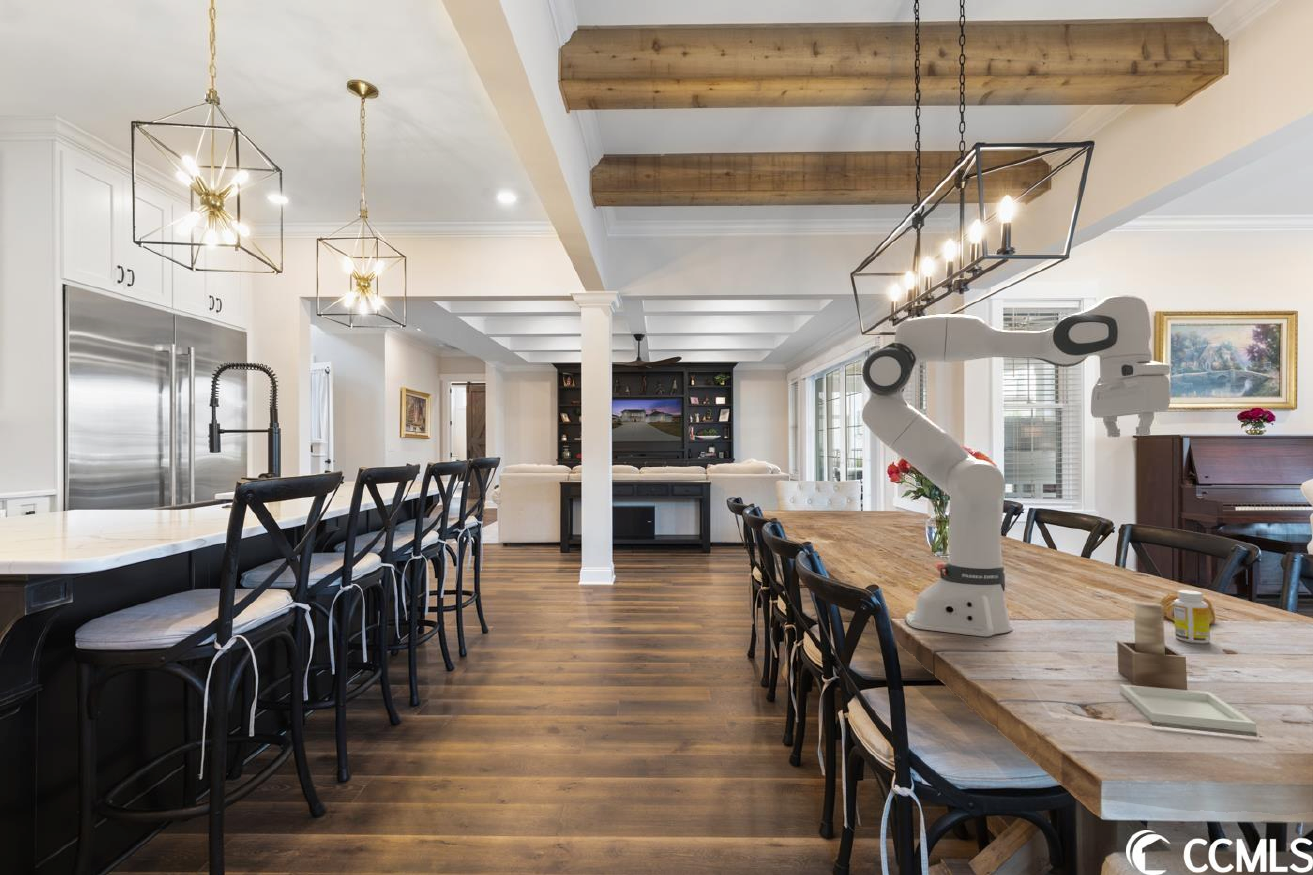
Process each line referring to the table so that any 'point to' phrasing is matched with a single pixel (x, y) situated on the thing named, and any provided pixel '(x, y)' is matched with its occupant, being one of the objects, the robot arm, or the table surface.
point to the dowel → (1149, 628)
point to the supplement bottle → (1191, 617)
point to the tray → (1188, 709)
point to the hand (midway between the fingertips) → (1127, 436)
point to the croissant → (1169, 607)
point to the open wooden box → (1152, 667)
